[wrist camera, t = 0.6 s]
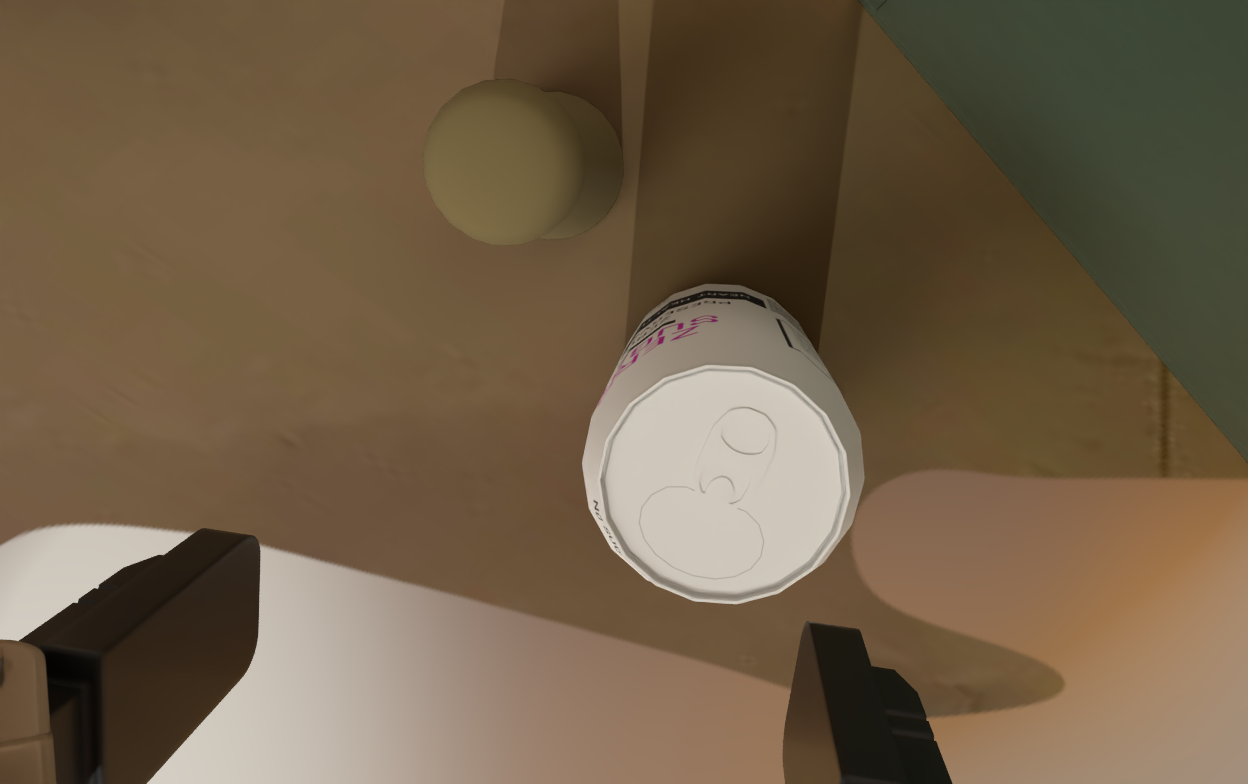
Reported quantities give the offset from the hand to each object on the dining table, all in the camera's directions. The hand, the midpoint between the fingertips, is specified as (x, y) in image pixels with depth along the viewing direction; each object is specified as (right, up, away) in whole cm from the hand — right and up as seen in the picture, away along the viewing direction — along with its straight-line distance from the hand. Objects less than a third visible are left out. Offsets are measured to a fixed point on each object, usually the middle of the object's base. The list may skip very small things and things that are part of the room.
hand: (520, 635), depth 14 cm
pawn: (-1, +13, +26) cm, 29 cm away
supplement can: (+6, +4, +27) cm, 28 cm away
